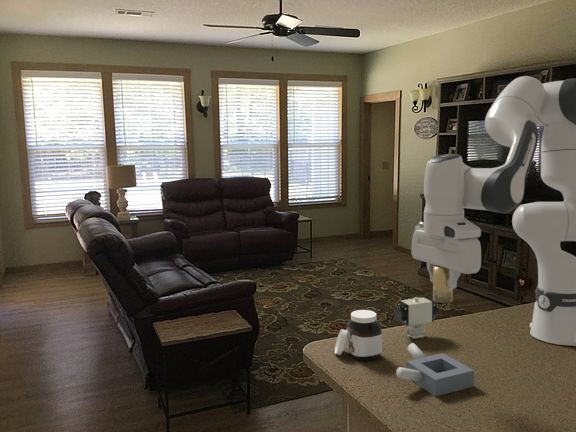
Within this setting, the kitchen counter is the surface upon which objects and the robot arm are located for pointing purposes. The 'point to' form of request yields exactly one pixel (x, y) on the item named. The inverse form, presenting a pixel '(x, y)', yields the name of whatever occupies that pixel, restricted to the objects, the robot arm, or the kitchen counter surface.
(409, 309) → the pneumatic valve
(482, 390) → the kitchen counter surface
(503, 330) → the kitchen counter surface
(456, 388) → the coupling block
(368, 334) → the spread jar
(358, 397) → the kitchen counter surface
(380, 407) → the kitchen counter surface
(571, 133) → the robot arm
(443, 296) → the cylinder
